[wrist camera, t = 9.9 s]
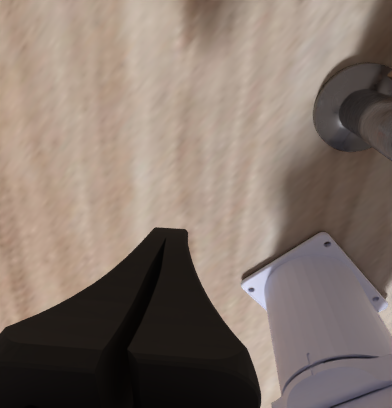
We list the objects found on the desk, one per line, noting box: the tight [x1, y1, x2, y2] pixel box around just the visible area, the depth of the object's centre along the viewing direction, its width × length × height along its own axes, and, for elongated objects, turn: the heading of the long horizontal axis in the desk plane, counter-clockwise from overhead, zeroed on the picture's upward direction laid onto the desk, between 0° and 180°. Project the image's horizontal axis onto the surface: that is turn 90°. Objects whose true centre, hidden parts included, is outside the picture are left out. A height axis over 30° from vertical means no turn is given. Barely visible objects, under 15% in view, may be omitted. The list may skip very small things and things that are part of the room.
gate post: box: [313, 63, 392, 161], centre depth 15 cm, size 5×5×8 cm
